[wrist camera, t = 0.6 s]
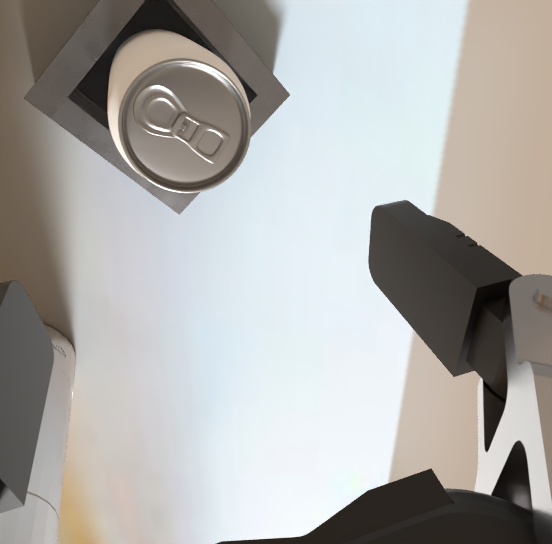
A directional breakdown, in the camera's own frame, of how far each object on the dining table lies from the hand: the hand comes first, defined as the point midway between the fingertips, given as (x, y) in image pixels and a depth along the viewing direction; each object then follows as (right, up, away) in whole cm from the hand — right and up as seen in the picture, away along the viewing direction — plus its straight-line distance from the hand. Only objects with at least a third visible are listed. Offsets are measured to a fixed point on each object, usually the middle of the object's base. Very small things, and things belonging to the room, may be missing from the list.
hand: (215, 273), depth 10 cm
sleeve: (-6, +12, +18) cm, 22 cm away
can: (-6, +12, +18) cm, 23 cm away
